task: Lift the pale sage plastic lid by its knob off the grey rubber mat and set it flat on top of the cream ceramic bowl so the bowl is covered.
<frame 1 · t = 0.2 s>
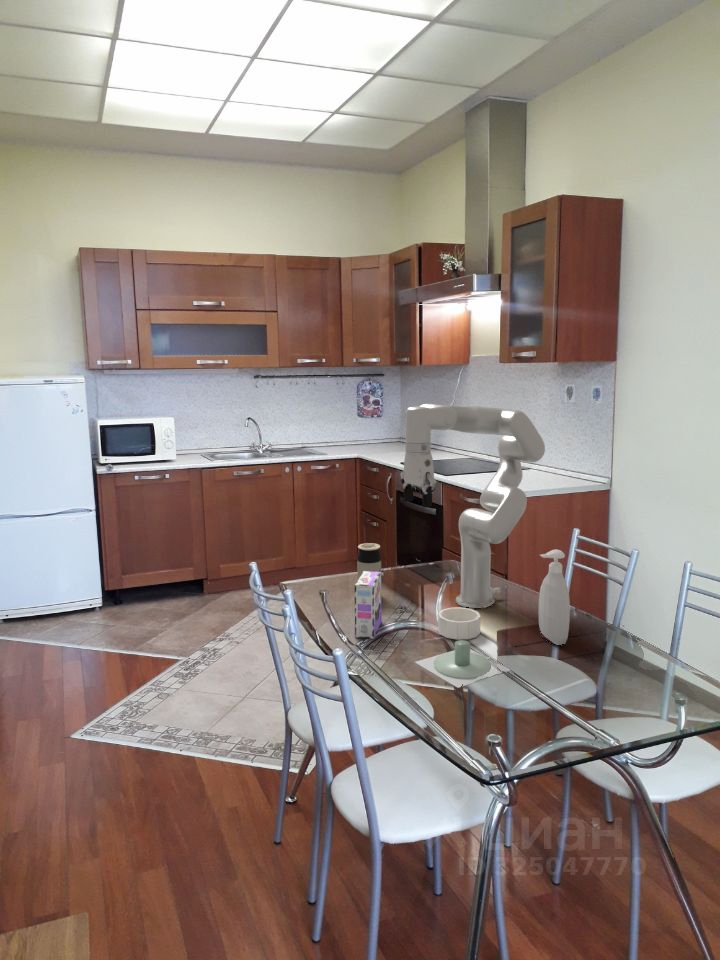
hand: (417, 503, 224), 37 cm above the table, tool pointing down, fingers open, 9 cm apart
lid: (462, 666, 195), point 1 cm above the table, touching mat
candy box: (368, 630, 222), on the table
bowl: (458, 634, 218), on the table
mat: (462, 668, 195), on the table
soap bottle: (550, 641, 213), on the table
travel mug: (369, 597, 250), on the table
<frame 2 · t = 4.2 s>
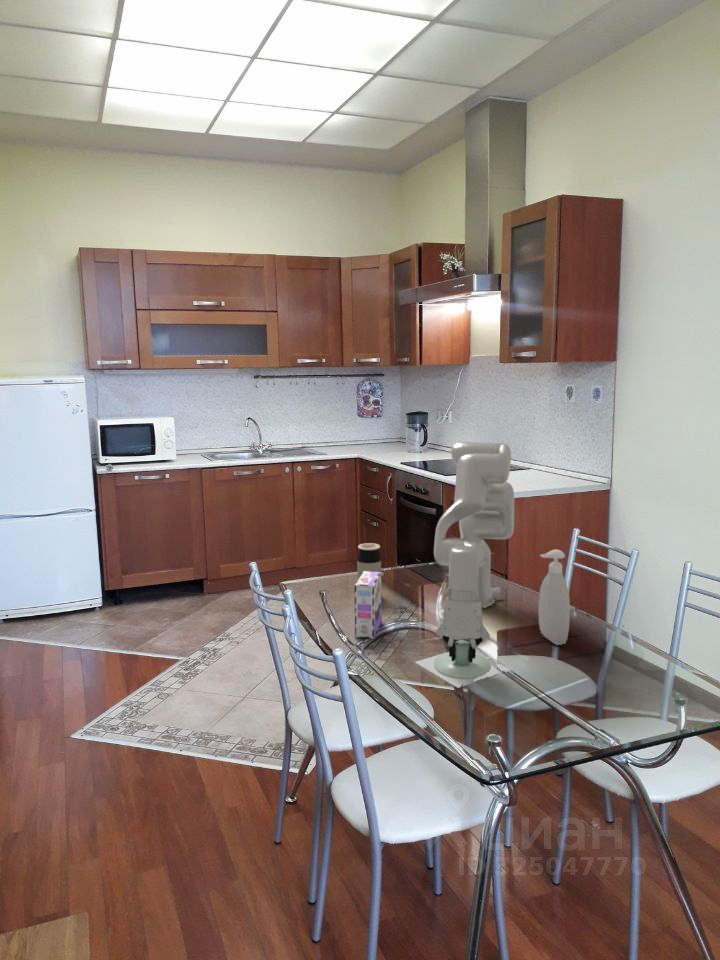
hand: (462, 659, 195), 3 cm above the table, tool pointing down, fingers closed on lid, 4 cm apart
lid: (462, 666, 195), point 1 cm above the table, touching gripper, mat
everything else where it was.
when the fingers open (9 cm above the table, at t = 9.4 s): lid drops 1 cm, resting on bowl.
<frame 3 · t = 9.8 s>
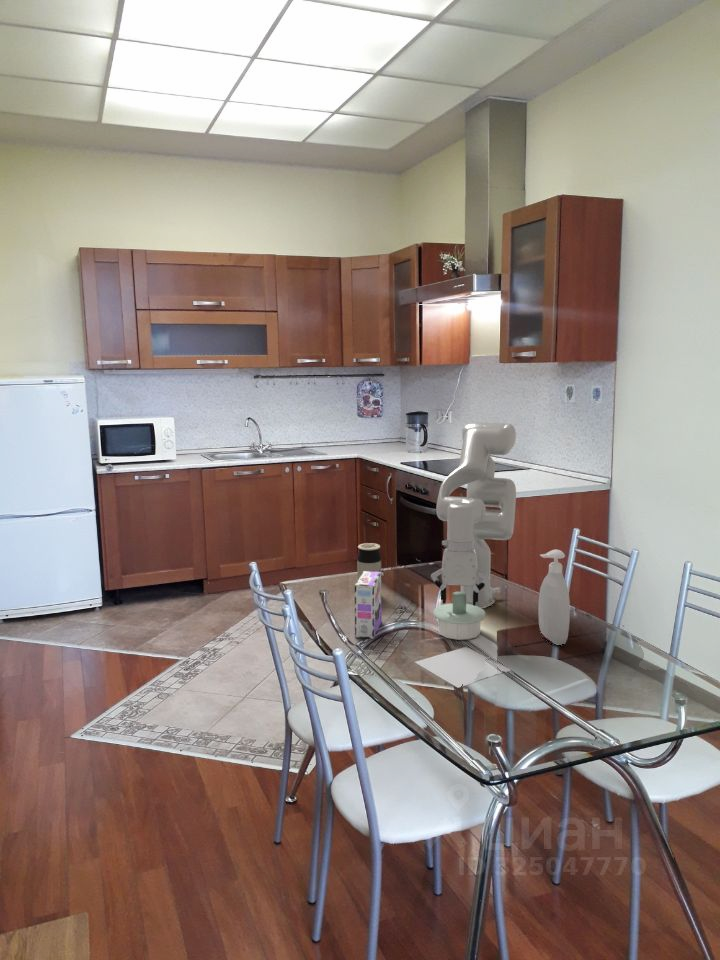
hand: (459, 602, 216), 10 cm above the table, tool pointing down, fingers open, 8 cm apart
lid: (459, 614, 216), point 6 cm above the table, touching bowl
everything else where it was.
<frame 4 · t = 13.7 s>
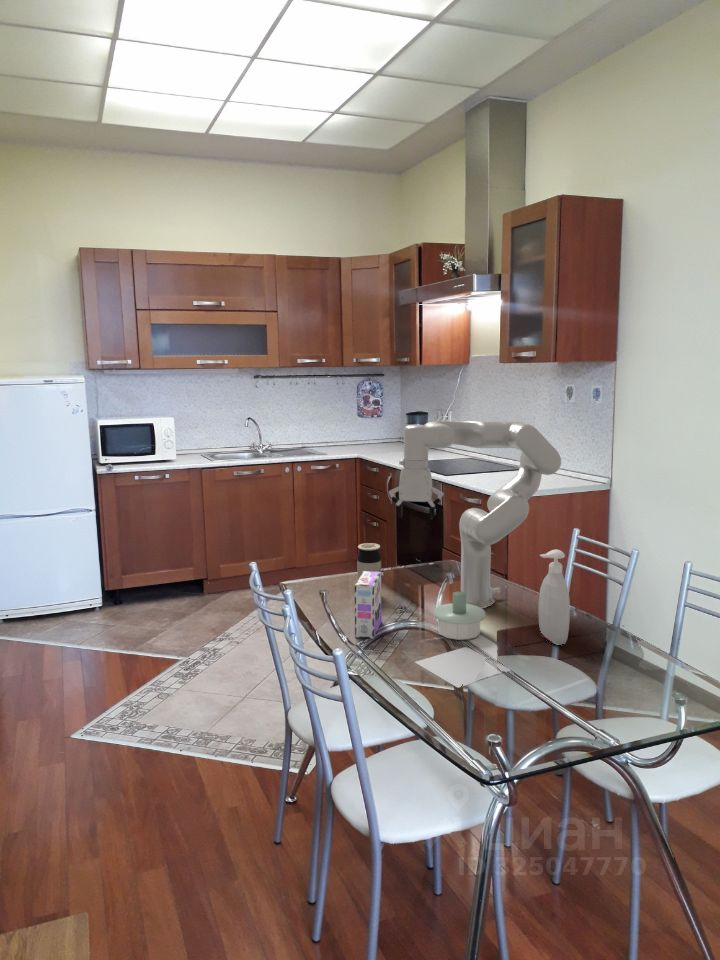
hand: (415, 518, 233), 30 cm above the table, tool pointing down, fingers open, 9 cm apart
nothing on the table moved.
at the end: lid 0.0 cm off-centre on the bowl, point 6.2 cm above the bowl's base; lid tilted 0°; the gripper is holding nothing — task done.
